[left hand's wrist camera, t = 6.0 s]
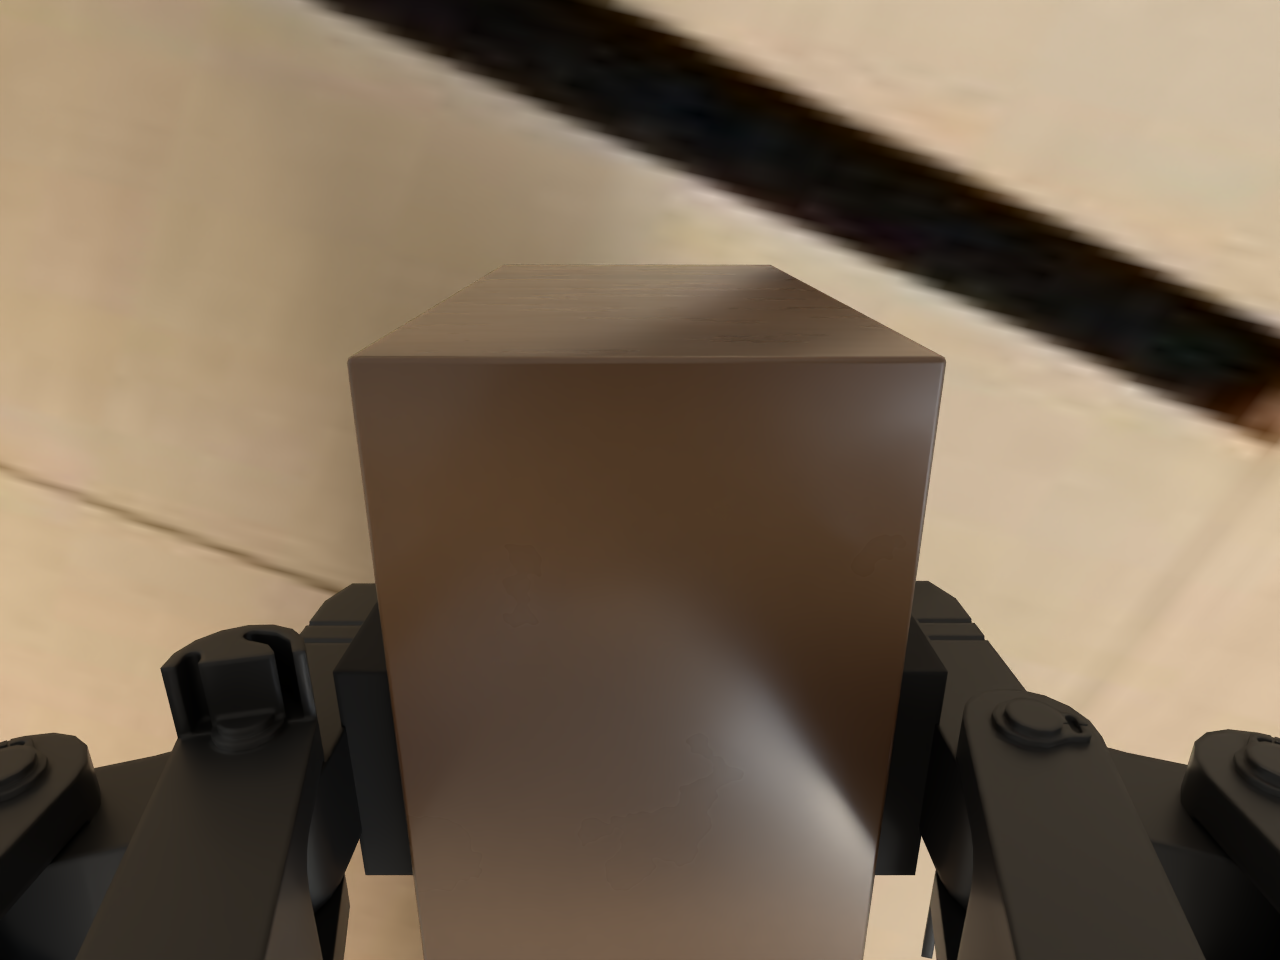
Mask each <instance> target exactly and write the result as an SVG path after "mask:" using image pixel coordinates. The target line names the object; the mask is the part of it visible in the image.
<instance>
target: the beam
mask: <svg viewBox="0 0 1280 960" xmlns="http://www.w3.org/2000/svg"><path fill="white" fill-rule="evenodd" d="M347 366H348V374H349V382H350V389H351V397H352V405H353V413H354V420H355V428H356V436H357V444H358V451H359V459H360V467H361V475H362V482H363V490H364V498H365V505H366V513H367V521H368V529H369V536H370V544H371V552H372V560H373V567H374V575H375V583H376V591H377V598H378V606H379V614H380V622H381V629H382V637H383V645H384V652H385V660H386V668H387V676H388V683H389V691H390V699H391V707H392V714H393V722H394V730H395V738H396V745H397V753H398V761H399V769H400V776H401V784H402V792H403V800H404V807H405V815H406V823H407V830H408V838H409V846H410V854H411V861H412V869H413V877H414V885H415V892H416V900H417V908H418V916H419V923H420V931H421V939H422V947H423V954H424V960H863V956H864V948H865V941H866V934H867V927H868V920H869V913H870V905H871V898H872V891H873V884H874V877H875V869H876V862H877V855H878V848H879V841H880V833H881V826H882V819H883V812H884V805H885V798H886V790H887V783H888V776H889V769H890V762H891V754H892V747H893V740H894V733H895V726H896V718H897V711H898V704H899V697H900V690H901V683H902V675H903V668H904V661H905V654H906V647H907V639H908V632H909V625H910V618H911V611H912V603H913V596H914V589H915V582H916V575H917V567H918V560H919V553H920V546H921V539H922V532H923V524H924V517H925V510H926V503H927V496H928V488H929V481H930V474H931V467H932V460H933V452H934V445H935V438H936V431H937V424H938V416H939V409H940V402H941V395H942V388H943V381H944V373H945V366H946V360H945V358H944V357H943V356H941V355H939V354H937V353H935V352H933V351H931V350H929V349H928V348H926V347H924V346H922V345H920V344H918V343H916V342H914V341H913V340H911V339H909V338H907V337H905V336H903V335H901V334H899V333H898V332H896V331H894V330H892V329H890V328H888V327H886V326H884V325H882V324H881V323H879V322H877V321H875V320H873V319H871V318H869V317H867V316H866V315H864V314H862V313H860V312H858V311H856V310H854V309H852V308H851V307H849V306H847V305H845V304H843V303H841V302H839V301H837V300H836V299H834V298H832V297H830V296H828V295H826V294H824V293H822V292H821V291H819V290H817V289H815V288H813V287H811V286H809V285H807V284H805V283H804V282H802V281H800V280H798V279H796V278H794V277H792V276H790V275H789V274H787V273H785V272H783V271H781V270H779V269H777V268H775V267H774V266H772V265H502V266H501V267H499V268H497V269H496V270H494V271H492V272H491V273H489V274H487V275H486V276H484V277H482V278H481V279H479V280H477V281H476V282H474V283H472V284H471V285H469V286H467V287H466V288H464V289H462V290H461V291H459V292H457V293H456V294H454V295H452V296H451V297H449V298H447V299H446V300H444V301H442V302H441V303H439V304H437V305H436V306H434V307H432V308H431V309H429V310H428V311H426V312H424V313H423V314H421V315H419V316H418V317H416V318H414V319H413V320H411V321H409V322H408V323H406V324H404V325H403V326H401V327H399V328H398V329H396V330H394V331H393V332H391V333H389V334H388V335H386V336H384V337H383V338H381V339H379V340H378V341H376V342H374V343H373V344H371V345H369V346H368V347H366V348H364V349H363V350H361V351H359V352H358V353H356V354H354V355H353V356H351V357H349V358H348V361H347Z"/></svg>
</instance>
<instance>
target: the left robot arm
mask: <svg viewBox="0 0 1280 960" xmlns="http://www.w3.org/2000/svg"><path fill="white" fill-rule="evenodd" d="M160 669H161V673H162V677H163V681H164V684H165V688H166V692H167V696H168V700H169V704H170V708H171V712H172V716H173V720H174V724H175V728H176V732H177V736H178V739H177V741H176V743H175V746H174V748H173V750H172V751H171V752H167V753H164V754H160V755H156V756H152V757H147V758H142V759H137V760H132V761H127V762H122V763H118V764H113V765H108V766H103V767H98V768H94V767H93V764H92V760H91V757H90V754H89V750H88V747H87V745H86V744H85V743H83V742H82V741H81V740H80V739H78V738H77V737H76V736H72V735H65V734H59V733H47V734H39V735H30V736H23V737H18V738H14V739H11V740H10V741H7V740H6V741H3V742H0V960H344V952H345V943H346V935H347V926H348V918H349V909H350V903H349V896H348V889H347V883H346V878H345V871H346V869H347V866H348V864H349V862H350V859H351V857H352V855H353V852H354V850H355V848H356V845H357V843H358V841H359V838H360V844H361V850H362V856H363V862H364V869H365V875H413V869H412V861H411V854H410V846H409V838H408V830H407V823H406V815H405V807H404V800H403V792H402V784H401V776H400V769H399V761H398V753H397V745H396V738H395V730H394V722H393V714H392V707H391V699H390V691H389V683H388V676H387V668H386V660H385V652H384V645H383V637H382V629H381V622H380V614H379V606H378V598H377V591H376V584H351V585H349V586H348V587H346V588H345V589H343V590H342V591H340V592H339V593H337V594H335V595H334V596H332V597H331V598H329V599H328V600H326V601H325V602H324V603H323V604H322V606H321V607H320V608H319V610H318V611H317V612H316V614H315V615H314V616H313V618H312V619H311V620H310V624H309V626H306V627H305V628H304V630H303V631H302V632H301V634H300V635H299V634H298V633H297V632H296V631H294V630H293V629H290V628H286V627H281V626H277V625H247V626H242V627H237V628H232V629H227V630H222V631H219V632H217V633H214V634H211V635H209V636H206V637H203V638H201V639H198V640H195V641H194V642H192V643H191V644H189V645H187V646H186V647H184V648H182V649H181V650H179V651H177V652H176V653H174V654H173V655H172V656H171V657H170V658H169V660H168V661H167V662H166V663H165V664H164V665H163V666H162V667H161V668H160ZM921 836H922V838H923V840H924V843H925V845H926V847H927V850H928V852H929V854H930V856H931V859H932V861H933V863H934V866H935V868H936V872H935V878H934V883H933V889H932V895H931V900H930V906H929V912H928V918H927V923H926V929H925V935H924V941H923V948H922V955H921V956H922V957H926V958H931V959H932V955H933V950H934V944H935V950H936V959H937V960H1280V738H1277V737H1275V738H1273V737H1271V736H1270V735H1266V734H1261V733H1256V732H1247V731H1238V730H1230V729H1227V730H1220V731H1213V732H1207V733H1205V734H1204V735H1203V736H1202V737H1200V738H1199V739H1198V740H1196V741H1195V743H1194V746H1193V749H1192V753H1191V756H1190V759H1189V762H1188V765H1185V764H1180V763H1175V762H1170V761H1165V760H1160V759H1155V758H1151V757H1146V756H1141V755H1136V754H1131V753H1126V752H1123V751H1119V750H1115V749H1111V748H1107V746H1106V744H1105V742H1104V740H1103V738H1102V736H1101V735H1100V734H1099V732H1098V731H1097V730H1096V728H1095V727H1094V726H1093V724H1092V723H1091V722H1090V721H1089V720H1088V719H1086V718H1085V717H1084V716H1082V715H1081V714H1079V713H1078V712H1077V711H1075V710H1074V709H1072V708H1071V707H1070V706H1067V705H1065V704H1063V703H1061V702H1058V701H1056V700H1054V699H1051V698H1049V697H1047V696H1045V695H1040V694H1036V693H1032V692H1027V691H1026V690H1025V689H1024V687H1023V686H1022V685H1021V683H1020V682H1019V681H1018V679H1017V678H1016V677H1015V675H1014V674H1013V673H1012V671H1011V670H1010V669H1009V668H1008V666H1007V665H1006V664H1005V662H1004V661H1003V660H1002V658H1001V657H1000V656H999V654H998V653H997V652H996V651H995V649H994V648H993V647H992V645H991V644H990V643H989V641H988V640H985V639H984V635H983V633H982V632H981V631H980V630H979V628H978V627H977V626H976V624H975V623H972V622H971V618H970V616H969V615H968V614H967V613H966V611H965V610H964V609H963V607H962V606H961V605H960V603H959V602H958V601H957V599H956V598H954V597H953V596H951V595H949V594H948V593H946V592H945V591H943V590H942V589H940V588H938V587H937V586H935V585H934V584H932V583H931V582H929V581H916V582H915V589H914V596H913V603H912V611H911V618H910V625H909V632H908V639H907V647H906V654H905V661H904V668H903V675H902V683H901V690H900V697H899V704H898V711H897V718H896V726H895V733H894V740H893V747H892V754H891V762H890V769H889V776H888V783H887V790H886V798H885V805H884V812H883V819H882V826H881V833H880V841H879V848H878V855H877V862H876V869H875V875H915V872H916V866H917V859H918V853H919V847H920V841H921Z"/></svg>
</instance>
